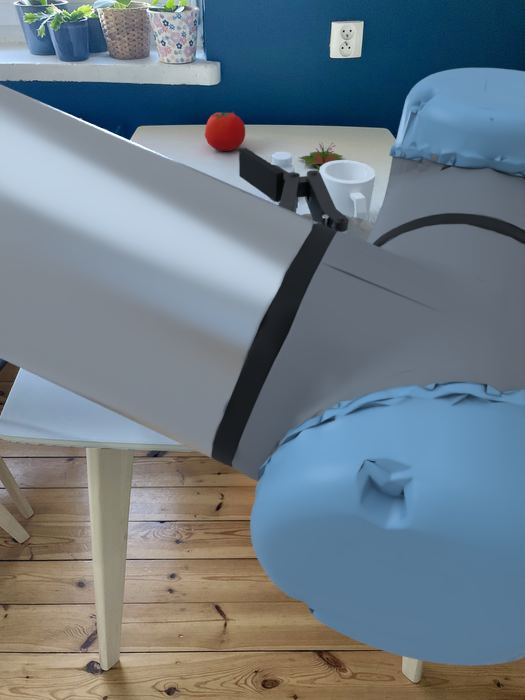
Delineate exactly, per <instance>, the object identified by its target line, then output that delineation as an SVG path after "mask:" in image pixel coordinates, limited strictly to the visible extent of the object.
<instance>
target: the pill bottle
mask: <svg viewBox="0 0 525 700" xmlns="http://www.w3.org/2000/svg"><path fill="white" fill-rule="evenodd" d="M292 163H293V154H292V153H290V152H288V151H276V152H273V154H272V155H271V164H273V165H277V166H279V167H280V168H282V169H283V170H285V171H287V172H288V173H290V172H295V173H296V170H295V166H294V165H293V164H292ZM269 199H270V200H272V199H271V198H269ZM278 202H279V203H280V201H278Z"/></svg>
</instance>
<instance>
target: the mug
mask: <svg viewBox="0 0 525 700" xmlns="http://www.w3.org/2000/svg"><path fill="white" fill-rule="evenodd" d="M318 170H319V171H318V172H320V174H321V176H322V178H323V181H324V183H325V185H326V187H327V190H328V192H329V194H330V196H331V199H332V201H333V203H334V205H335V207H336V209H337V210H338V211H339V212H341V213H342V214H343V215H347V216H349V217H356V218H361V219H363V220H366V221H369V216H370V210H371V203H372V197H373V191H374V185H375V179H376V170H375V169H374V168H373V167H372V166H370V165H368V164H366V163H363V162H361V161H356V160H349V159H344V160H335V161H330V162H327V163H325V164H323V165H322V166H321V167H320V169H318Z"/></svg>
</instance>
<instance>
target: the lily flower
mask: <svg viewBox="0 0 525 700" xmlns="http://www.w3.org/2000/svg"><path fill="white" fill-rule="evenodd" d="M333 144H334V142H332V143H330V145H329V146H328V147H327V148H326V149H325V146H324V144H323V142H321V143H318V145H319V149H320V150H319V149H318V148H317V147H316V148H315V150H316V151H313V152H309V155H303V156H301V157H298V159H301V160H304V161H306V162H305V164H304V167H307V166H311V165H315V167H316V168H317V169H318V170H320V167H321V166H322V165H323V164H325V163H327V162H330V161H335V160H345V159H344V158H342V157H343V155H341V154H338V153H336V152H334V150H333V148H334V147H336V145H333Z"/></svg>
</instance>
